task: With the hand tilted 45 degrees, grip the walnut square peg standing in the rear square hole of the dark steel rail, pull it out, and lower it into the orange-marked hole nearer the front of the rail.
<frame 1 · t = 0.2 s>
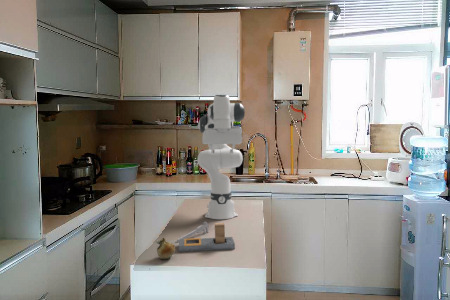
hand: (222, 153, 192), 39 cm above the counter, tool pointing down, fingers open, 8 cm apart
rail: (206, 246, 167), on the counter
peg: (220, 246, 167), resting in rail
onion: (166, 258, 154), on the counter
caliper: (192, 238, 181), on the counter
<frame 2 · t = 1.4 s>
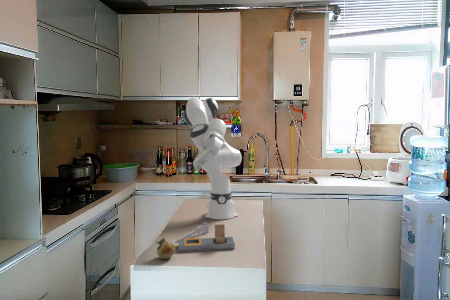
hand: (202, 165, 173), 35 cm above the counter, tool tilted 50°, fingers open, 8 cm apart
nothing on the counter moved.
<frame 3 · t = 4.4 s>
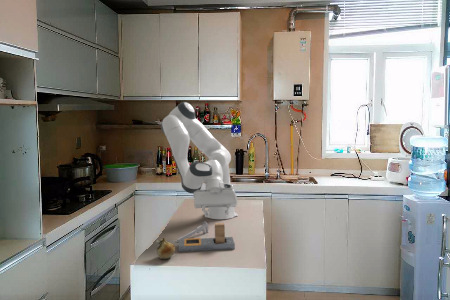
hand: (216, 214, 173), 12 cm above the counter, tool tilted 45°, fingers open, 8 cm apart
nothing on the counter moved.
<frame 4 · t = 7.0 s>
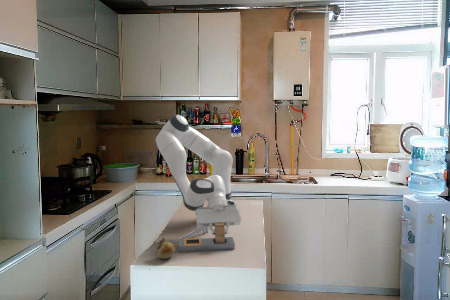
hand: (219, 233, 166), 6 cm above the counter, tool tilted 45°, fingers closed on peg, 4 cm apart
peg: (220, 246, 167), resting in rail, touching gripper
everything else where it was.
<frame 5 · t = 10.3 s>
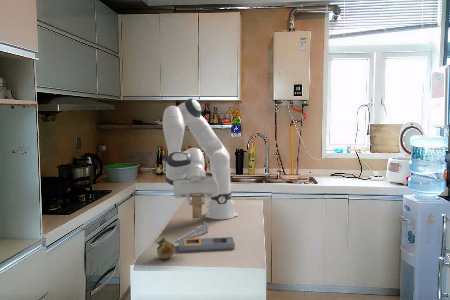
hand: (196, 204, 164), 19 cm above the counter, tool tilted 45°, fingers closed on peg, 4 cm apart
peg: (197, 217, 165), point 14 cm above the counter, touching gripper
everything else where it was.
when the fingers open (7 cm above the counter, at t = 13.9 s): peg drops 1 cm, resting in rail.
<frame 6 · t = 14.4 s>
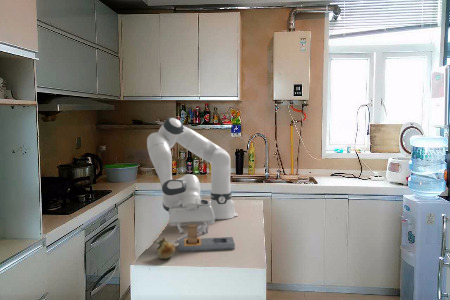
hand: (192, 232, 165), 7 cm above the counter, tool tilted 45°, fingers open, 8 cm apart
peg: (192, 247, 166), resting in rail
everything else where it was.
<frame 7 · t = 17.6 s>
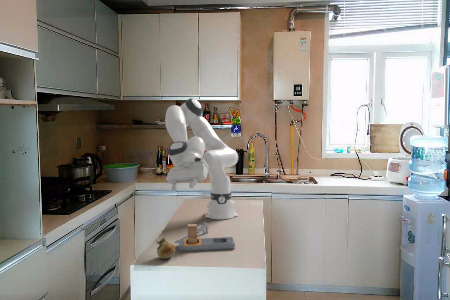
hand: (182, 188, 170), 25 cm above the counter, tool tilted 45°, fingers open, 8 cm apart
nothing on the counter moved.
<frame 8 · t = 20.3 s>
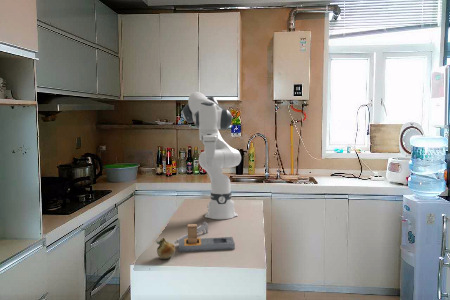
hand: (209, 165, 180), 34 cm above the counter, tool pointing down, fingers open, 8 cm apart
nothing on the counter moved.
at the end: peg 0.1 cm from the target spot on the rail, point 0.0 cm above the rail's base; peg tilted 0°; the gripper is holding nothing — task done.
